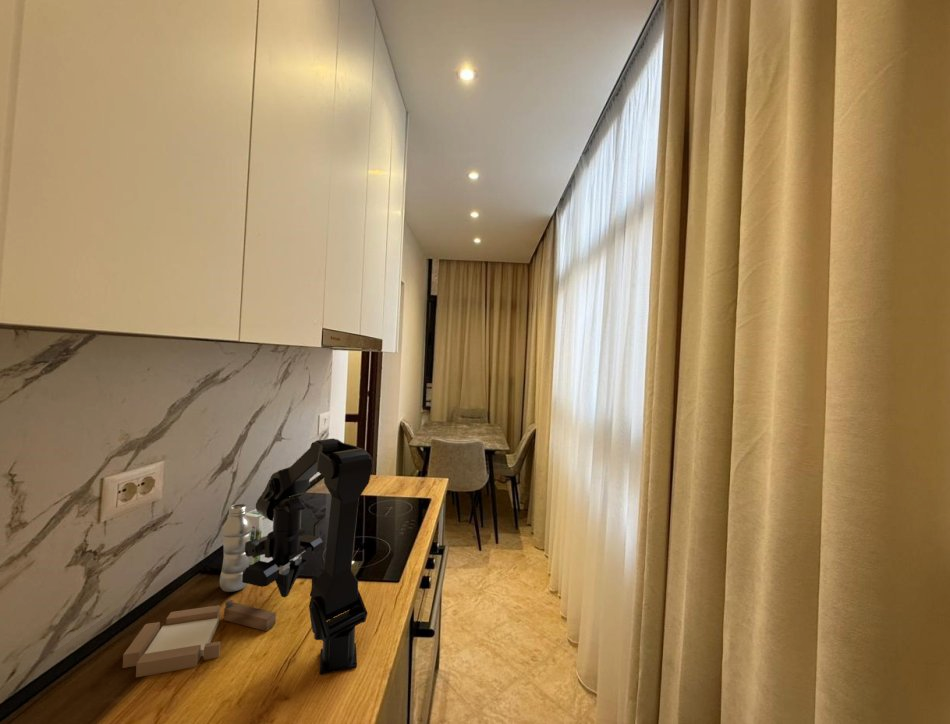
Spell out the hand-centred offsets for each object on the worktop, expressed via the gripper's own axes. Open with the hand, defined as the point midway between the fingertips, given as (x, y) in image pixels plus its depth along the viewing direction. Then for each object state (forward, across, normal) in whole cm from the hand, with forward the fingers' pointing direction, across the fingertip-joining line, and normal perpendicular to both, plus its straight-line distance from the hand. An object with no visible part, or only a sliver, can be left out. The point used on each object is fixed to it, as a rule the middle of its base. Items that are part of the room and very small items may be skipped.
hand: (284, 596), depth 91 cm
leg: (+3, +6, -4) cm, 8 cm away
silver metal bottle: (+3, -3, -18) cm, 18 cm away
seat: (+3, +15, -11) cm, 19 cm away
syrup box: (+3, -14, -21) cm, 26 cm away
